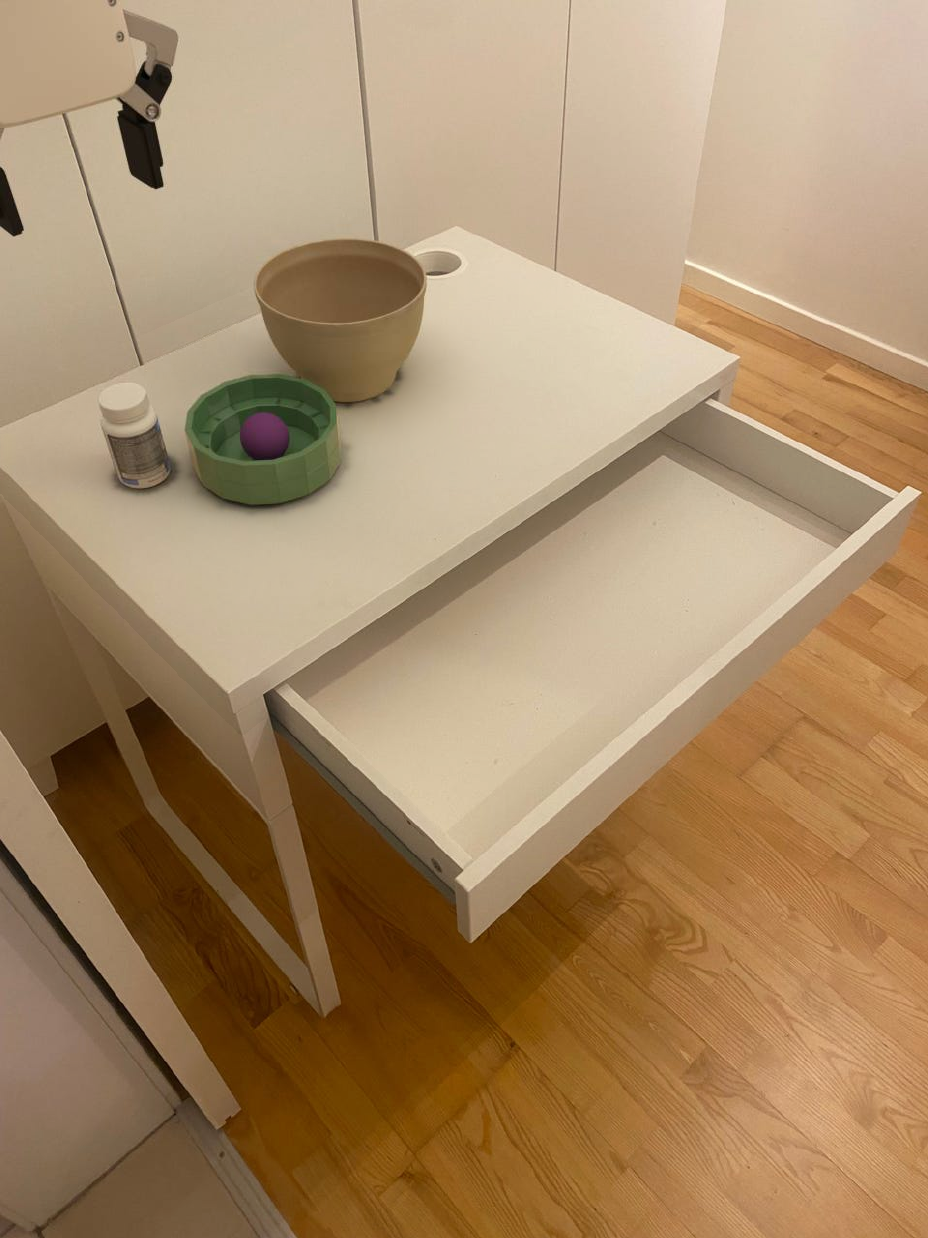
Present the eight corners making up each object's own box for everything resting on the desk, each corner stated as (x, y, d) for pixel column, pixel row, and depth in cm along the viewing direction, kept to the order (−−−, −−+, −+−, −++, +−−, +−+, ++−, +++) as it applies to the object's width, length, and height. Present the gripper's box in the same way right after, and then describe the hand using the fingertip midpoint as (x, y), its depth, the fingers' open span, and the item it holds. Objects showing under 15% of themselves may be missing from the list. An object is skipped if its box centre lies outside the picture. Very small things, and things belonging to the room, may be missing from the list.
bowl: (170, 491, 85) (157, 446, 82) (235, 407, 94) (227, 363, 90) (307, 522, 83) (301, 478, 79) (361, 433, 92) (358, 389, 88)
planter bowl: (439, 341, 102) (439, 243, 94) (411, 432, 92) (409, 331, 84) (293, 326, 104) (280, 228, 96) (248, 415, 93) (230, 313, 85)
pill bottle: (182, 472, 87) (162, 395, 81) (137, 497, 85) (113, 419, 79) (151, 449, 89) (129, 372, 83) (107, 473, 87) (81, 395, 81)
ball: (235, 466, 87) (227, 426, 84) (256, 438, 90) (249, 398, 87) (280, 476, 86) (274, 436, 83) (299, 447, 89) (294, 407, 86)
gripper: (103, -166, 54) (167, 147, 67) (-223, -122, 46) (-79, 224, 59) (175, -142, 51) (228, 184, 63) (-164, -91, 42) (-25, 271, 55)
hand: (80, 203), depth 61 cm, fingers open, 9 cm apart
